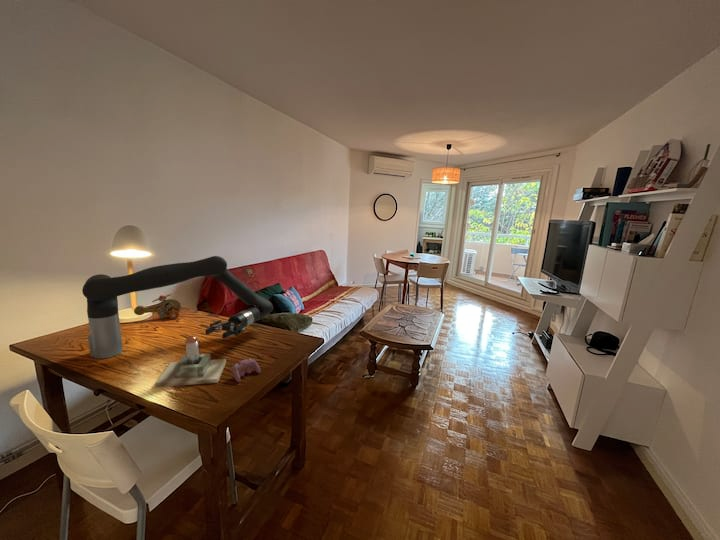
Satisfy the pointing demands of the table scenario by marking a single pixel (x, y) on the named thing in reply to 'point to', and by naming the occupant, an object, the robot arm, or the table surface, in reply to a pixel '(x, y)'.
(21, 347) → the table surface
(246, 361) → the video game controller
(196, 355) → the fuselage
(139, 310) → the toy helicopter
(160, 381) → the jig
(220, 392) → the table surface
